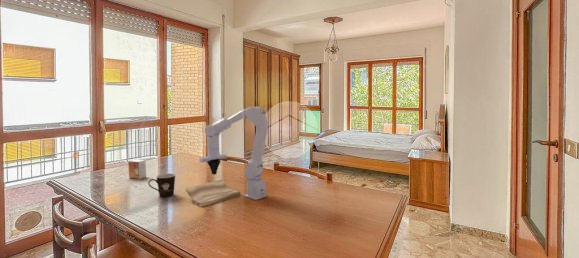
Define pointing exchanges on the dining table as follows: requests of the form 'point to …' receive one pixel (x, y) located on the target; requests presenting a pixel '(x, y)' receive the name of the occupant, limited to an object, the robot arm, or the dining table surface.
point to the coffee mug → (165, 184)
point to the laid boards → (216, 197)
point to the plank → (206, 189)
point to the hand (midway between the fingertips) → (214, 174)
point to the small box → (137, 169)
